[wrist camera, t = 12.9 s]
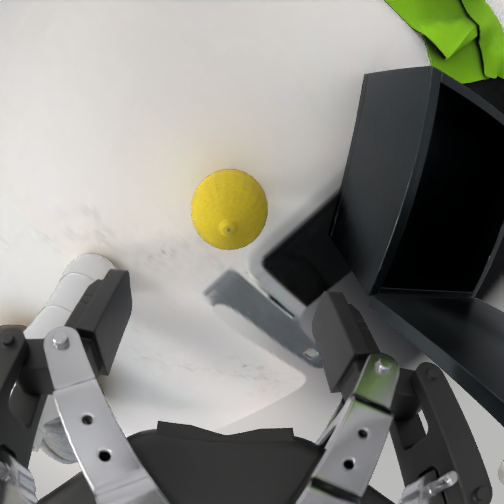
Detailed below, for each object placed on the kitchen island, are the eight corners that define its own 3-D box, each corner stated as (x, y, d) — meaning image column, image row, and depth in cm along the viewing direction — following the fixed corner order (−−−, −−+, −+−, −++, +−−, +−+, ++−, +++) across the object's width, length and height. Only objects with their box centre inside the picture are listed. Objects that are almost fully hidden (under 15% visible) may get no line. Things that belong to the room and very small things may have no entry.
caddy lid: (565, 459, 2) (480, 538, 3) (607, 376, 3) (570, 438, 4) (371, 295, 18) (352, 358, 19) (477, 298, 19) (460, 347, 20)
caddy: (364, 74, 19) (432, 65, 11) (461, 119, 21) (530, 138, 12) (327, 234, 27) (367, 296, 18) (423, 248, 28) (473, 299, 20)
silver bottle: (67, 276, 27) (-18, 421, 10) (86, 233, 25) (-31, 393, 7) (112, 306, 29) (53, 466, 12) (137, 267, 27) (63, 455, 10)
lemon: (274, 199, 25) (291, 240, 18) (222, 232, 26) (219, 283, 19) (238, 147, 22) (240, 167, 15) (185, 185, 23) (164, 221, 16)
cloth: (514, 91, 18) (527, 93, 16) (388, 90, 20) (402, 89, 18) (469, -44, 8) (480, -47, 6) (320, -80, 10) (327, -91, 8)
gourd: (110, 432, 41) (81, 499, 25) (12, 365, 38) (-30, 415, 22) (138, 362, 34) (87, 463, 18) (9, 271, 31) (-67, 324, 14)
